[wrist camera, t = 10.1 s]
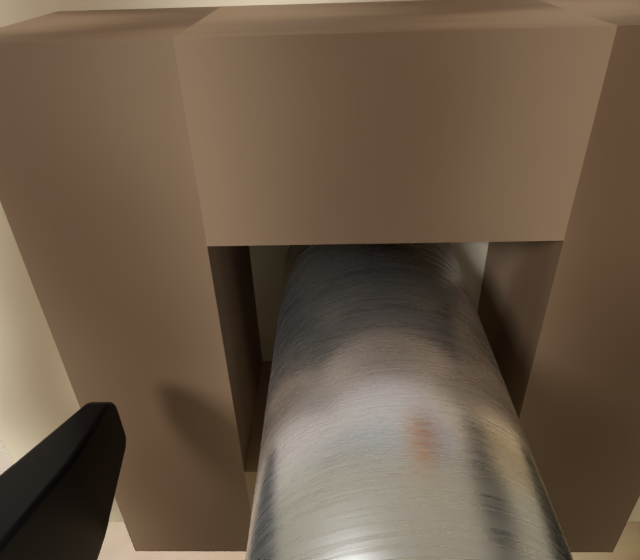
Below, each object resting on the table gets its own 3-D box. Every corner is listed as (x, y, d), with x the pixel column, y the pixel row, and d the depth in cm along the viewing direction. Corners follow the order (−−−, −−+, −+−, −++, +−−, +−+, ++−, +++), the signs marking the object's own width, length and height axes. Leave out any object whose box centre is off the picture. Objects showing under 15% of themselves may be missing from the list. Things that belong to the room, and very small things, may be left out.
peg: (464, 193, 12) (820, 888, 3) (445, 337, 14) (626, 974, 5) (279, 197, 12) (149, 876, 3) (289, 339, 14) (227, 965, 5)
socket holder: (1135, -357, 8) (1905, -637, 4) (675, 495, 19) (762, 637, 15) (-322, -286, 8) (-853, -465, 5) (56, 495, 19) (-11, 632, 16)
